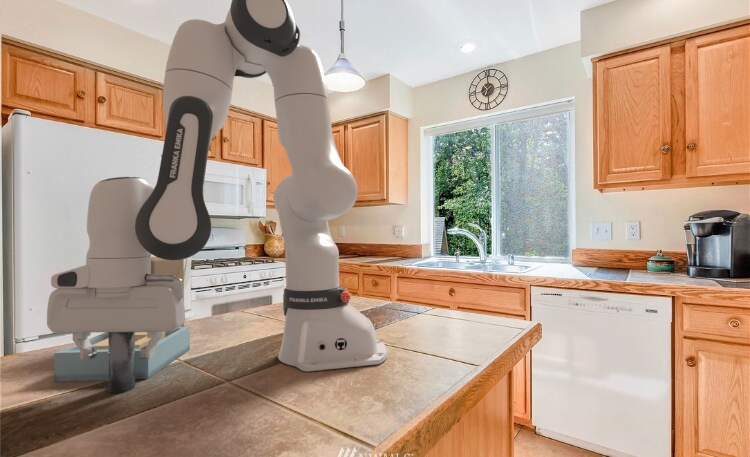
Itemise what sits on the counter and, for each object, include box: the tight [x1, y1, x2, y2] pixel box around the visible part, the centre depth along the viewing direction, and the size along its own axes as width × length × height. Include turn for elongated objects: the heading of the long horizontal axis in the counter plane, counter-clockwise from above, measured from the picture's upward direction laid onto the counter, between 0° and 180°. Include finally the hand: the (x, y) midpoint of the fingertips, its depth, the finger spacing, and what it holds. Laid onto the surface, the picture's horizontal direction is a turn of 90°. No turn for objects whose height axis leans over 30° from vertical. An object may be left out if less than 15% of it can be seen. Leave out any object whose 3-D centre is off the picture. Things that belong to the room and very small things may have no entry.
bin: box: [53, 326, 191, 383], centre depth 72 cm, size 16×16×5 cm
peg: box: [108, 332, 136, 395], centre depth 60 cm, size 4×4×10 cm
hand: (118, 358), depth 60 cm, fingers open, 8 cm apart
